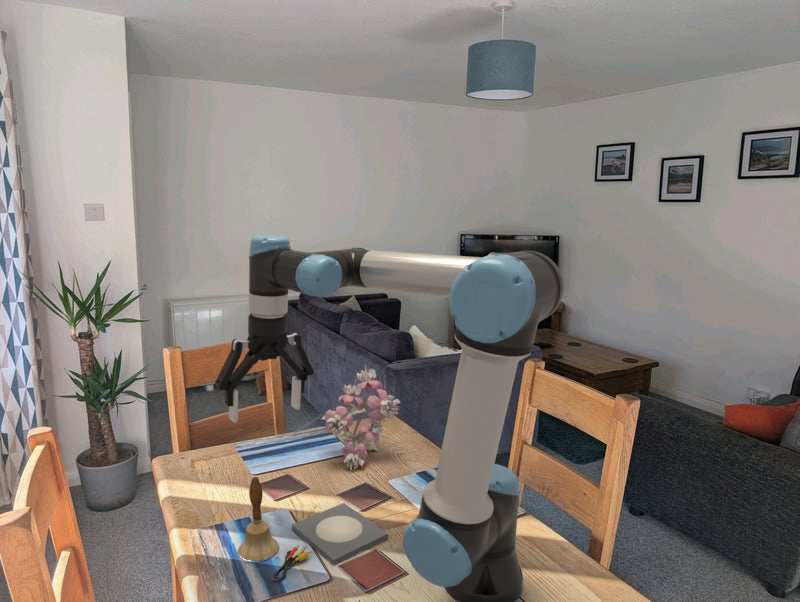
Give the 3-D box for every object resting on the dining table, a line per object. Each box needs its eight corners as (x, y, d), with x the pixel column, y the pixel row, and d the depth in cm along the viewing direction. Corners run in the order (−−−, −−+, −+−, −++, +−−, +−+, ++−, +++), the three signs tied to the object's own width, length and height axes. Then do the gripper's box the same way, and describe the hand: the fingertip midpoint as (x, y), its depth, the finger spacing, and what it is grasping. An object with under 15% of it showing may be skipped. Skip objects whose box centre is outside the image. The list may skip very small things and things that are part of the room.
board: (387, 538, 121) (387, 533, 121) (333, 565, 112) (333, 559, 112) (343, 507, 133) (343, 502, 133) (291, 529, 124) (291, 523, 124)
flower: (293, 447, 161) (311, 382, 148) (350, 417, 177) (371, 357, 164) (339, 497, 151) (363, 432, 139) (394, 461, 168) (421, 400, 155)
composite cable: (279, 586, 106) (279, 574, 106) (260, 577, 109) (260, 565, 108) (313, 558, 115) (313, 547, 114) (294, 550, 117) (294, 539, 117)
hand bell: (252, 568, 111) (250, 493, 108) (229, 550, 116) (226, 478, 113) (287, 549, 117) (286, 478, 114) (264, 533, 122) (262, 464, 120)
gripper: (315, 304, 122) (310, 396, 127) (198, 314, 108) (198, 418, 112) (332, 312, 117) (327, 409, 121) (211, 324, 102) (211, 433, 106)
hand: (265, 413), depth 117 cm, fingers open, 13 cm apart
